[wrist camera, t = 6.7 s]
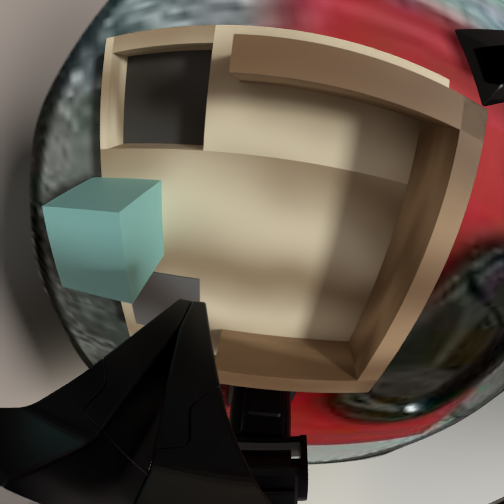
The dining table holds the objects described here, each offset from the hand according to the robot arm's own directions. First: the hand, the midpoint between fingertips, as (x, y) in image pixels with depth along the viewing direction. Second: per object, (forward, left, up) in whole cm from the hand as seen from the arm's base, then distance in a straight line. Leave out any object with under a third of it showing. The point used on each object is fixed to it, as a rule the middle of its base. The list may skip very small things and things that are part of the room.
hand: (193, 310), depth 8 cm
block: (0, +6, -7) cm, 9 cm away
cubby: (0, -5, -7) cm, 9 cm away
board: (0, -2, -9) cm, 9 cm away
